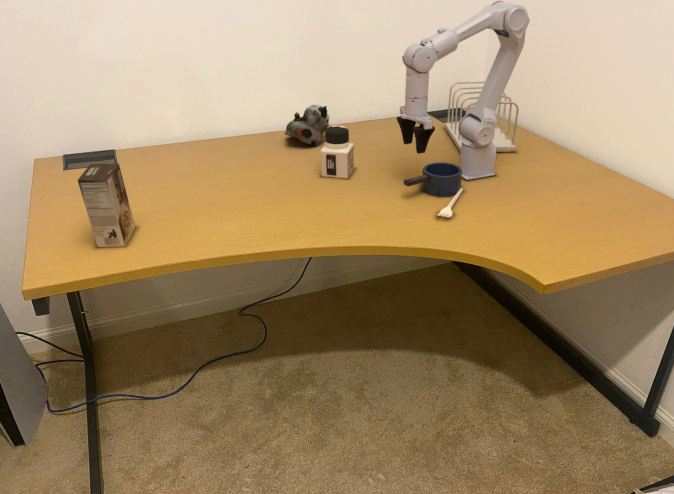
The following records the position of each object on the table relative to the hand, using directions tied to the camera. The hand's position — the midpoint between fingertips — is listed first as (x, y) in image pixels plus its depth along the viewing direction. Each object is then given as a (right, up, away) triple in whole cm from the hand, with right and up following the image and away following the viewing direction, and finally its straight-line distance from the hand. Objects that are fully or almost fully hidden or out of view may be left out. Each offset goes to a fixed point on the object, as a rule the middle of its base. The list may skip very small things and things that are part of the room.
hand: (414, 148), depth 151 cm
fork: (+9, -16, -6) cm, 20 cm away
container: (-21, -4, +12) cm, 24 cm away
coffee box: (-70, -26, -21) cm, 77 cm away
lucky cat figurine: (-32, +10, +34) cm, 48 cm away
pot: (+4, -11, +1) cm, 12 cm away
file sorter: (+24, +11, +35) cm, 44 cm away
